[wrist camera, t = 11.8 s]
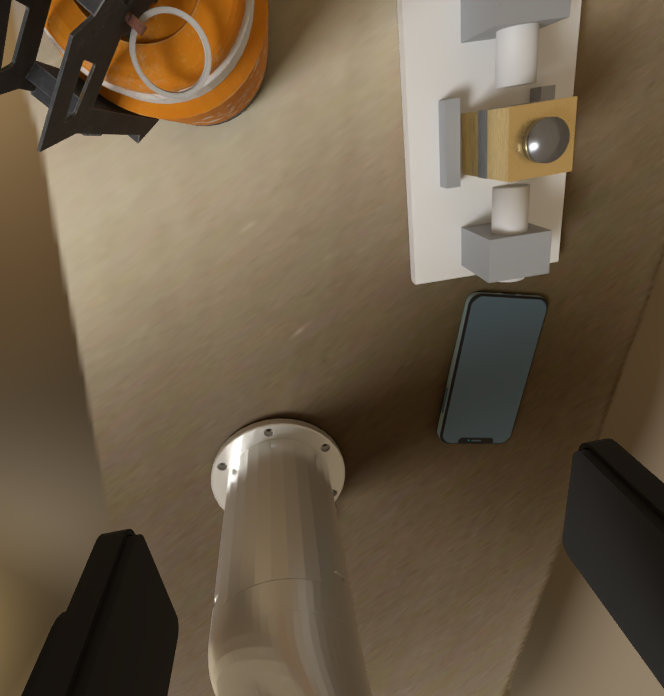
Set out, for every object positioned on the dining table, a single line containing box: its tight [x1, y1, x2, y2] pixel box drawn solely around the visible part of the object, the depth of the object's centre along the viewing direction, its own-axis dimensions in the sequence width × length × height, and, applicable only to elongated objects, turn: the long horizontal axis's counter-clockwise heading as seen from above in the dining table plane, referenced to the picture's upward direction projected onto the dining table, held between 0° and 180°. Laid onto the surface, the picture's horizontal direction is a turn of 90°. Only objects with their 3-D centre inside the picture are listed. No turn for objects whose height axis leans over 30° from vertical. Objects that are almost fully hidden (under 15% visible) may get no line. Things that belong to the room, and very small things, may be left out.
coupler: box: [461, 96, 577, 182], centre depth 29 cm, size 4×4×8 cm
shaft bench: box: [397, 0, 582, 285], centre depth 31 cm, size 20×12×6 cm, turn 7°
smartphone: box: [437, 291, 548, 444], centre depth 42 cm, size 8×2×15 cm
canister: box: [0, 0, 268, 152], centre depth 21 cm, size 9×11×20 cm
